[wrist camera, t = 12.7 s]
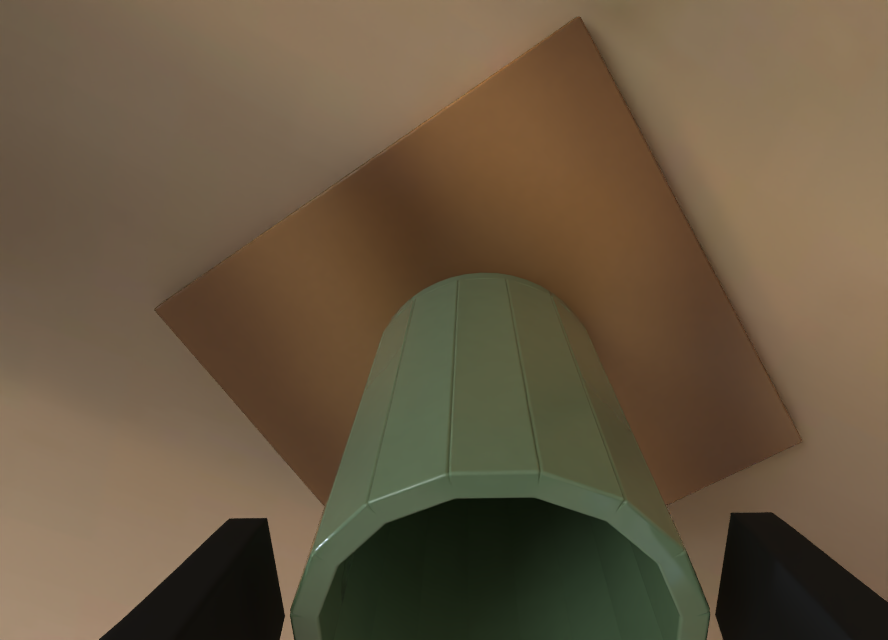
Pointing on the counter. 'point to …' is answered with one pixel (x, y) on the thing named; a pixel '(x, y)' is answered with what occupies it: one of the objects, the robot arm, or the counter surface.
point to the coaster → (494, 251)
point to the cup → (494, 488)
